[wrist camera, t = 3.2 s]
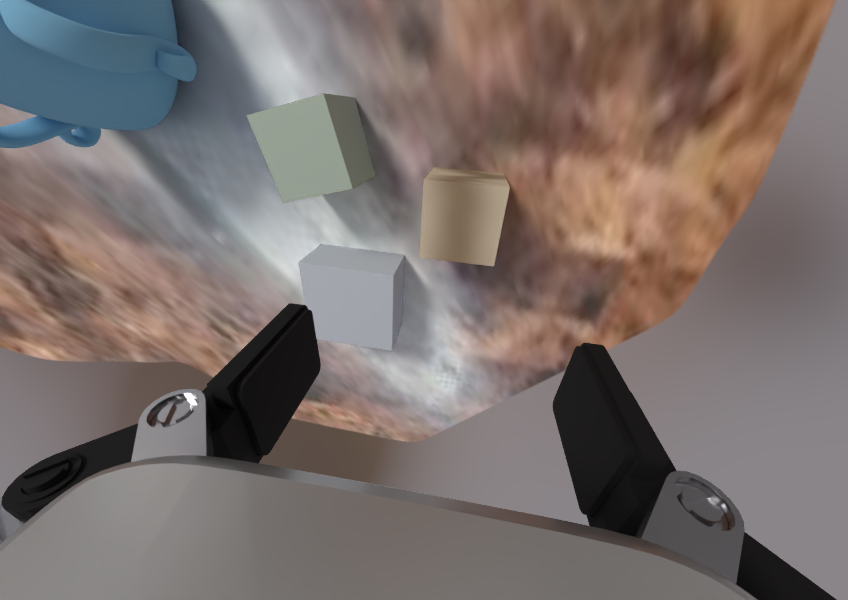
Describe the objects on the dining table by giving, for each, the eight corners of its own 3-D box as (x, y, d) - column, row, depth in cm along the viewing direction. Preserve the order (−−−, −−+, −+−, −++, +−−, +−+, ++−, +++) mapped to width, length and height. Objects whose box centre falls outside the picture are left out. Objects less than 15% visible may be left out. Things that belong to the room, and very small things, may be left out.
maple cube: (504, 173, 26) (509, 187, 21) (491, 239, 29) (493, 266, 24) (434, 167, 26) (423, 179, 21) (429, 233, 30) (419, 257, 24)
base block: (404, 253, 31) (393, 275, 27) (402, 323, 36) (391, 351, 32) (322, 243, 32) (298, 262, 28) (330, 312, 37) (311, 337, 33)
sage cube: (355, 97, 25) (323, 93, 20) (375, 175, 27) (352, 188, 22) (291, 115, 26) (246, 115, 21) (317, 187, 29) (283, 202, 24)
